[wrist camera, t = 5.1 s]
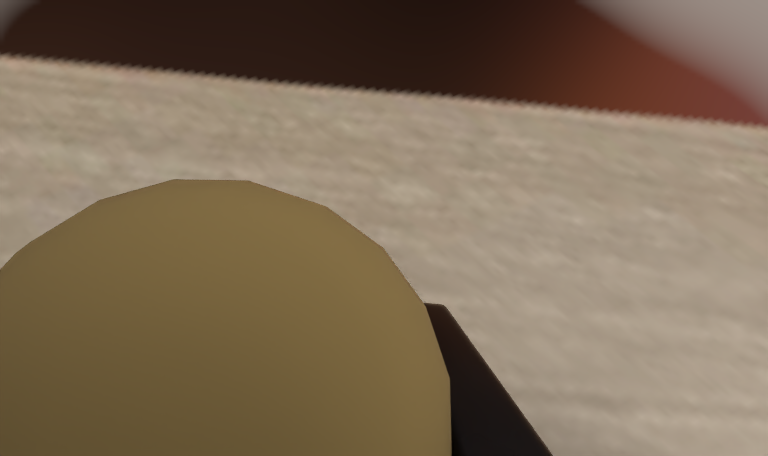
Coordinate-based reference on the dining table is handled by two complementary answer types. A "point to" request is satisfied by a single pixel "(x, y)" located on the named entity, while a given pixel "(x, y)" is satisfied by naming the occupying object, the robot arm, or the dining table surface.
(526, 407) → the dining table surface
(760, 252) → the dining table surface
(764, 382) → the dining table surface
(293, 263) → the tan rounded tall piece
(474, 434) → the robot arm
